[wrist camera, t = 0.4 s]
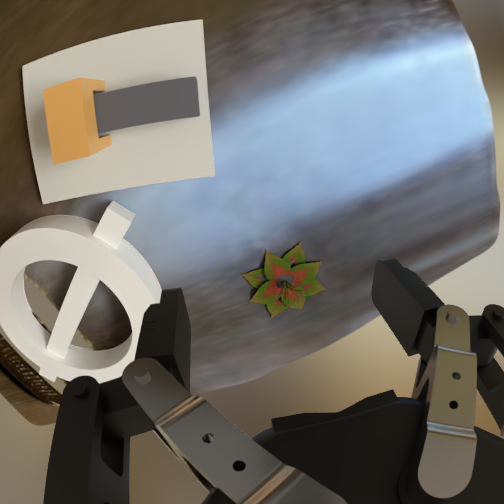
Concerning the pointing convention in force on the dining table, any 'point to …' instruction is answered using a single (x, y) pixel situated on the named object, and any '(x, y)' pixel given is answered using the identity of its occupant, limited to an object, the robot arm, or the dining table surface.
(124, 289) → the ring with crossbar
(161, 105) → the long grey rectangular bar
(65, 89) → the orange arch block
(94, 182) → the mat
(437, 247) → the dining table surface
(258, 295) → the lily flower
